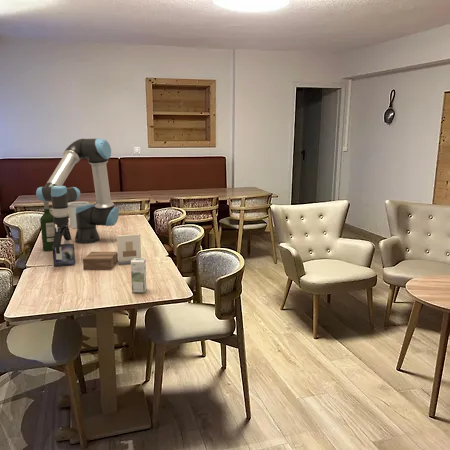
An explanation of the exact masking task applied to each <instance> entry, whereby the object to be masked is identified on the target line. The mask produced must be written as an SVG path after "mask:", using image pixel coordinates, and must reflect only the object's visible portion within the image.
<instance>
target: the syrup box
mask: <svg viewBox="0 0 450 450" xmlns="http://www.w3.org/2000/svg"><path fill="white" fill-rule="evenodd" d="M146 269H147V265H146V258H145V257H141V258H133V259H132V260H131V264H130V273H131V274H130V276H131V279H130V280H131V293H132V294H145V293H146V290H147V289H148V288H147V271H146Z"/></svg>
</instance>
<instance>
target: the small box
mask: <svg viewBox="0 0 450 450" xmlns="http://www.w3.org/2000/svg"><path fill="white" fill-rule="evenodd" d="M60 247H61V251H62V259H61V260H56V250H55V247H52V250H53V251H52V259H53V260H52V261H53V267H55V268H56V267H68V266H75V265H76V259H75V257H76V256H75V253H76V252H75V242H73V243H70V244H64V243H63V244H62V243H61V245H60Z"/></svg>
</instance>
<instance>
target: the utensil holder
mask: <svg viewBox="0 0 450 450" xmlns="http://www.w3.org/2000/svg"><path fill="white" fill-rule="evenodd" d="M86 204H90V201H89V202H88V201H74V202H69V203H68V217H69V225H70V227H69V228H72V229H77V223H76V207H78V206H81V205H86Z"/></svg>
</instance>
